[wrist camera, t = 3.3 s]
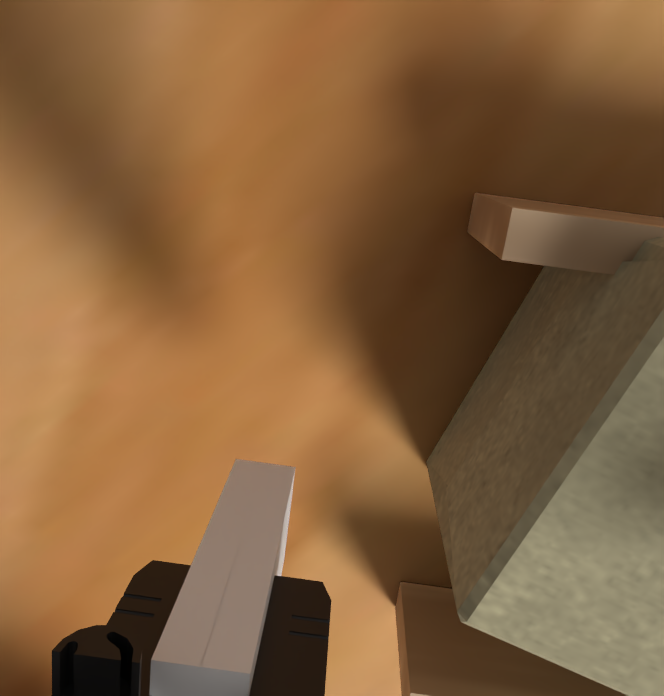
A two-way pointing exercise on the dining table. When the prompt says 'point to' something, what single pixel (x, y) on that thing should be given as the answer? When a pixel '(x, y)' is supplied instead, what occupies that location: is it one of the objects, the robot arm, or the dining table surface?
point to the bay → (438, 603)
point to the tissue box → (566, 477)
